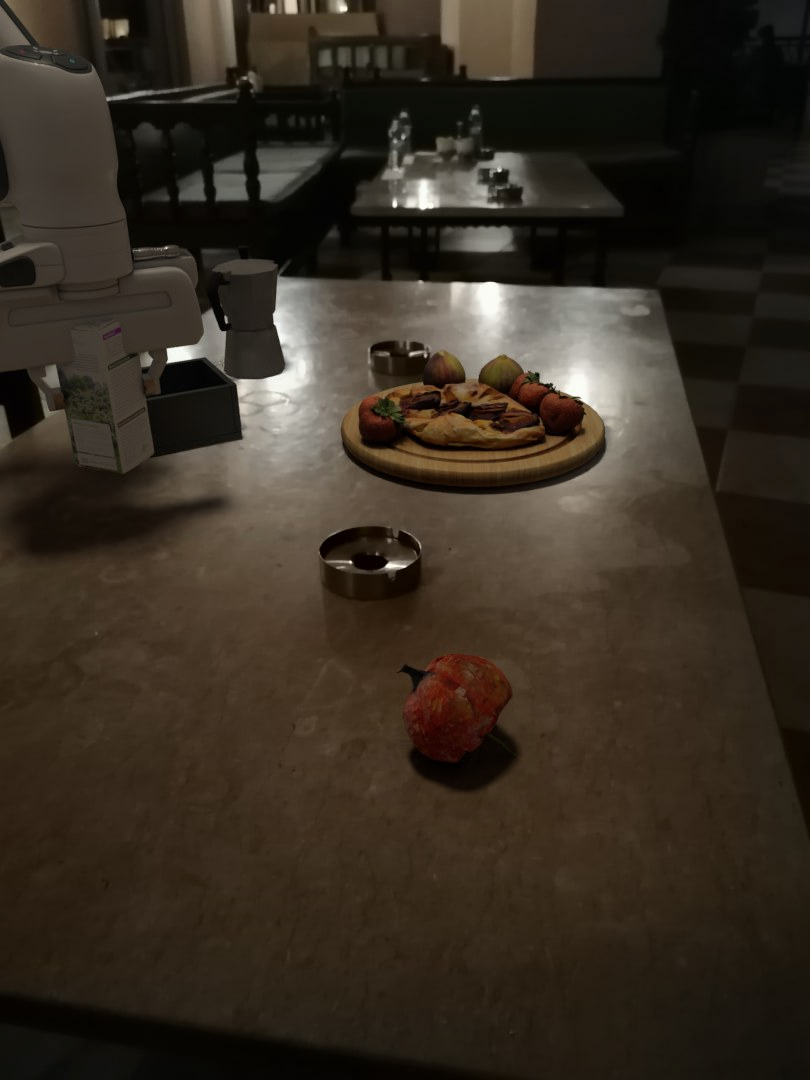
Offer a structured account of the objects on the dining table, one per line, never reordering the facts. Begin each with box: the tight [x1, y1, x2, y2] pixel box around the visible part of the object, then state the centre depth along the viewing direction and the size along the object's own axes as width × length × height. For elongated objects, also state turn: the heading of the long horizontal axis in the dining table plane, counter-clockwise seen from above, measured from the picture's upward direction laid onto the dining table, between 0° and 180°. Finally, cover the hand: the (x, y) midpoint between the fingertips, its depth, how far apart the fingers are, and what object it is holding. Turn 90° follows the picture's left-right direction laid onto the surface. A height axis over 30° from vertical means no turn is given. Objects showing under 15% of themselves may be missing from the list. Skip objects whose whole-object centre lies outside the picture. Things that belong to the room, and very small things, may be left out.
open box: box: [141, 356, 243, 458], centre depth 113 cm, size 13×13×7 cm
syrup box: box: [55, 319, 154, 475], centre depth 87 cm, size 6×6×14 cm
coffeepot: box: [205, 244, 286, 380], centre depth 130 cm, size 15×9×18 cm, turn 153°
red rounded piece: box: [396, 653, 518, 764], centre depth 61 cm, size 7×7×10 cm
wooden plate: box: [340, 349, 606, 488], centre depth 109 cm, size 32×32×8 cm
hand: (104, 401), depth 87 cm, fingers closed on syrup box, 7 cm apart
